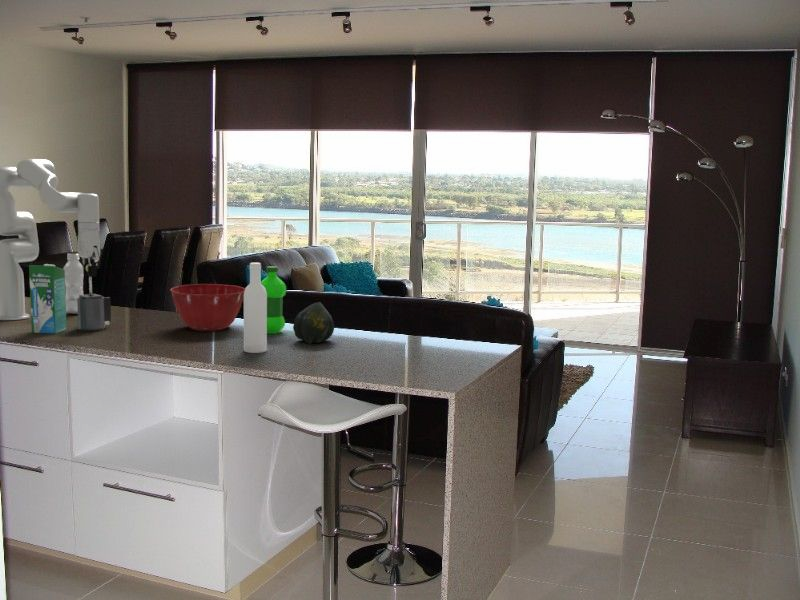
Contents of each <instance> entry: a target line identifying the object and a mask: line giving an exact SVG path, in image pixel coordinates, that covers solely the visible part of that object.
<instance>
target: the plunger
mask: <svg viewBox="0 0 800 600" xmlns="http://www.w3.org/2000/svg"><path fill="white" fill-rule="evenodd" d="M88 266H89V264H88V265H86V271H87V272H88ZM92 279H93V278H92V277H89V276H88V284H89V285H88V287H89V288H88V290H89V292H88V293H89V296H92V294H93V284H92V283H93V281H92Z"/></svg>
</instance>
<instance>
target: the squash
mask: <svg viewBox="0 0 800 600" xmlns="http://www.w3.org/2000/svg"><path fill="white" fill-rule="evenodd" d="M292 326H293V327H292V330H293V331H294V335H295V337H296V338H297V339H298V340H302V341H305V343H307V344H309V345H311V344H312V343H315V344H319V343H321V342H324V341H328V340H329V339H330V338H331V337H332V336H333V334H334V331H335V324H334V320H333V317H332V315H331V314H330V312H329V311H328V310H327V309H326V307H325V306H324V304H323V303H322V302H320V301H319V302H314V303H312V304H310V305H308V306H307V307H305V308H304V309H302V310H301V311H300V312H298V314H297V315H296V317H295V319H294V321H293V325H292Z"/></svg>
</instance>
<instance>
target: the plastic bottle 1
mask: <svg viewBox="0 0 800 600" xmlns="http://www.w3.org/2000/svg"><path fill="white" fill-rule="evenodd" d="M66 257H67V258H66V259H67V262H66V263H65V265H64V266H63V269H64V270H65V296H66V314H71V315H78V309H77V298H78V297H79V295H84V275H83V264H82V263H81V262H80V260H81V259H80V258H81V257H80V256H78V254H77V253H67V256H66Z"/></svg>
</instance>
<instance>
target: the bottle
mask: <svg viewBox="0 0 800 600" xmlns="http://www.w3.org/2000/svg"><path fill="white" fill-rule="evenodd" d="M248 269H249V284H248V285H247V286H246V287H245V291H244V298H243V351H244V352H245V353H249V354H250V353H251V354H260V353H261V354H262V353H266V352H267V350H268V340H267V339H268V335H267V334H268V333H267V293H266V290H265V287H264V286H263V285H262V284H261V281H262V280H261V278H262V276H261V275H262V272H261V271H262V270H261V269H262V263H261V262H250V263H249V267H248Z"/></svg>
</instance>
